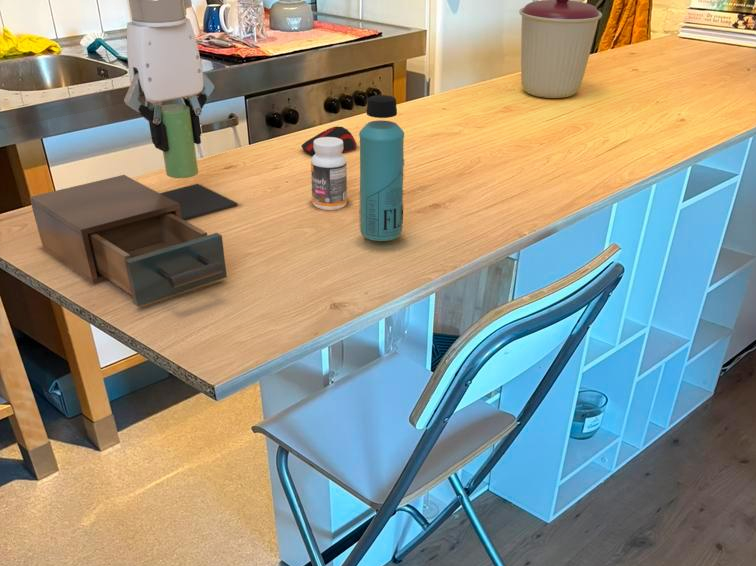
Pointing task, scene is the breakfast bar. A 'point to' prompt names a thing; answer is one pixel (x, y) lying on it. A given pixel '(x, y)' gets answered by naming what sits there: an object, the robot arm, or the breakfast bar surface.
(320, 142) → the pill bottle
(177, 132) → the green can
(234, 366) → the breakfast bar surface
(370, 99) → the beverage bottle
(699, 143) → the breakfast bar surface
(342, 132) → the computer mouse
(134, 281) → the drawer
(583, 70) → the canister
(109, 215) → the cabinet
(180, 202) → the mat
